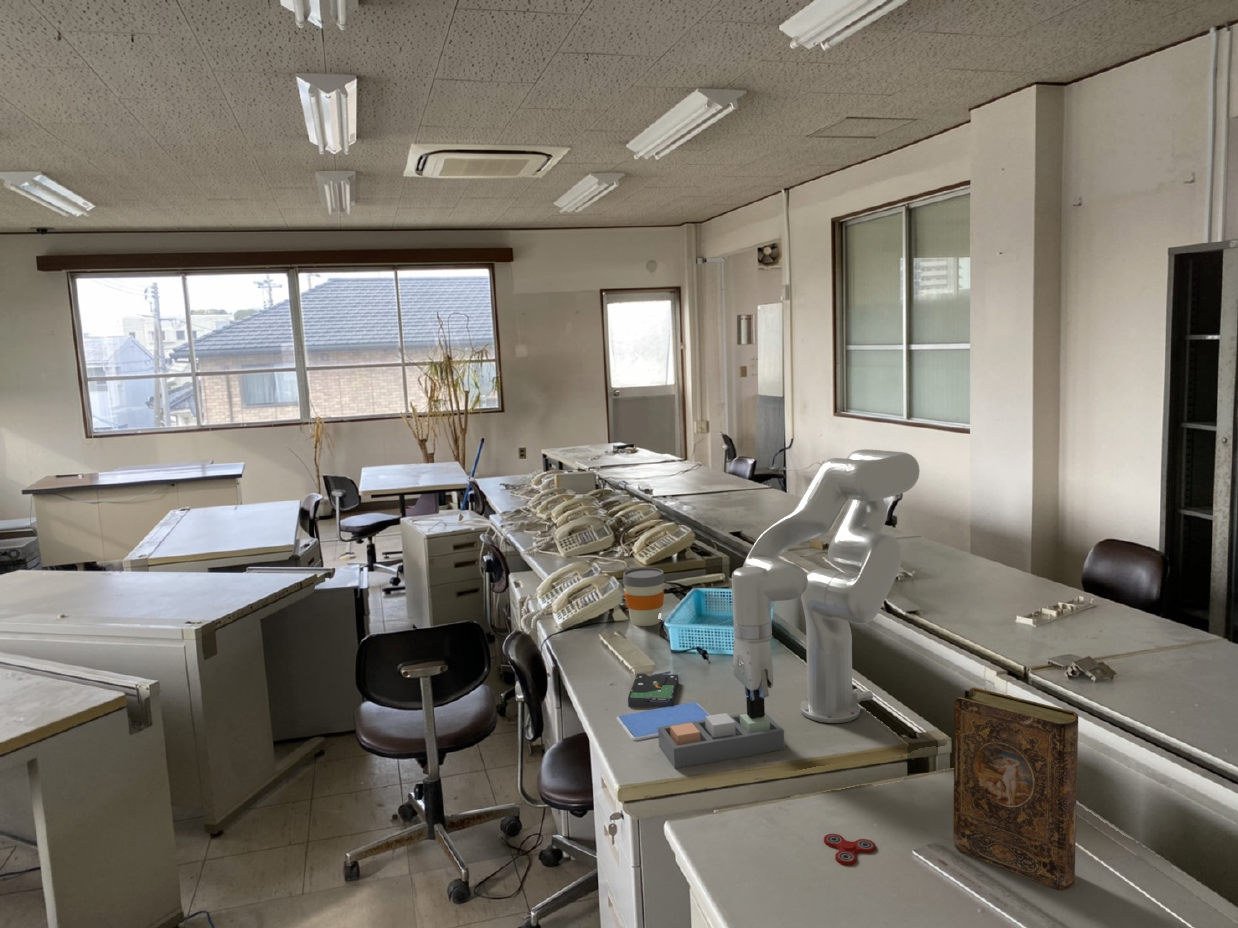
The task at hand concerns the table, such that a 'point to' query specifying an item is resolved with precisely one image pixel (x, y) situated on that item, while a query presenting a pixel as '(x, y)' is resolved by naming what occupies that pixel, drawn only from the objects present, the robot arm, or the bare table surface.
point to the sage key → (754, 723)
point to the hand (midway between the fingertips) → (755, 715)
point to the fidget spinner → (848, 848)
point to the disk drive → (653, 691)
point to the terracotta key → (684, 734)
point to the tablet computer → (659, 719)
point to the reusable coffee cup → (644, 595)
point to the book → (1016, 785)
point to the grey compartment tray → (720, 744)
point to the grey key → (720, 725)
